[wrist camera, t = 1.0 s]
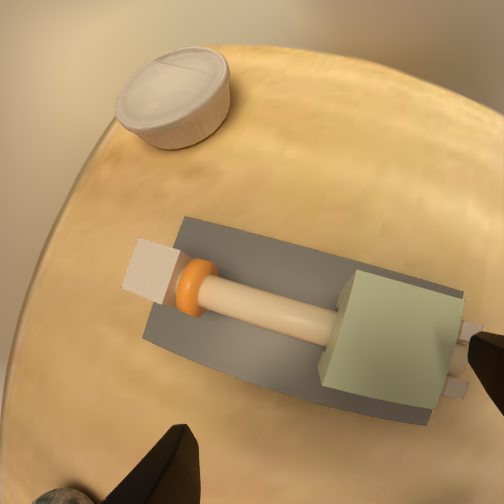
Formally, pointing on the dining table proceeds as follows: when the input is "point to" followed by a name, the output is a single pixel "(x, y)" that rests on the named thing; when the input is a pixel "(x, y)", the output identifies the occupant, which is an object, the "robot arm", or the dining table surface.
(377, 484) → the dining table surface
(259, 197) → the dining table surface
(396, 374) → the matte sage green cube
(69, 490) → the grey rounded oval lump
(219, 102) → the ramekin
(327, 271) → the cord board
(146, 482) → the robot arm
